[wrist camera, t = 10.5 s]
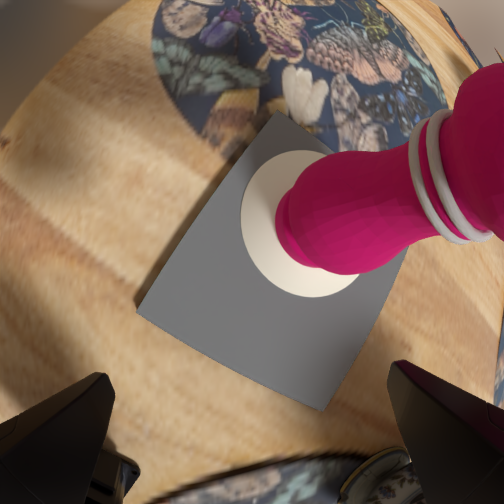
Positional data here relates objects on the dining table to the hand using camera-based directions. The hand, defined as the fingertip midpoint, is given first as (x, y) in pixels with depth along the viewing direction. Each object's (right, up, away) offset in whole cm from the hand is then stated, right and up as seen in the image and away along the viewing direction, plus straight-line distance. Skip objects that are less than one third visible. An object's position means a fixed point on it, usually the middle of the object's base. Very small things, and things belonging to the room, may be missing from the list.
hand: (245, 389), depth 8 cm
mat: (+4, +3, +13) cm, 14 cm away
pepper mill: (+5, +6, +13) cm, 15 cm away
